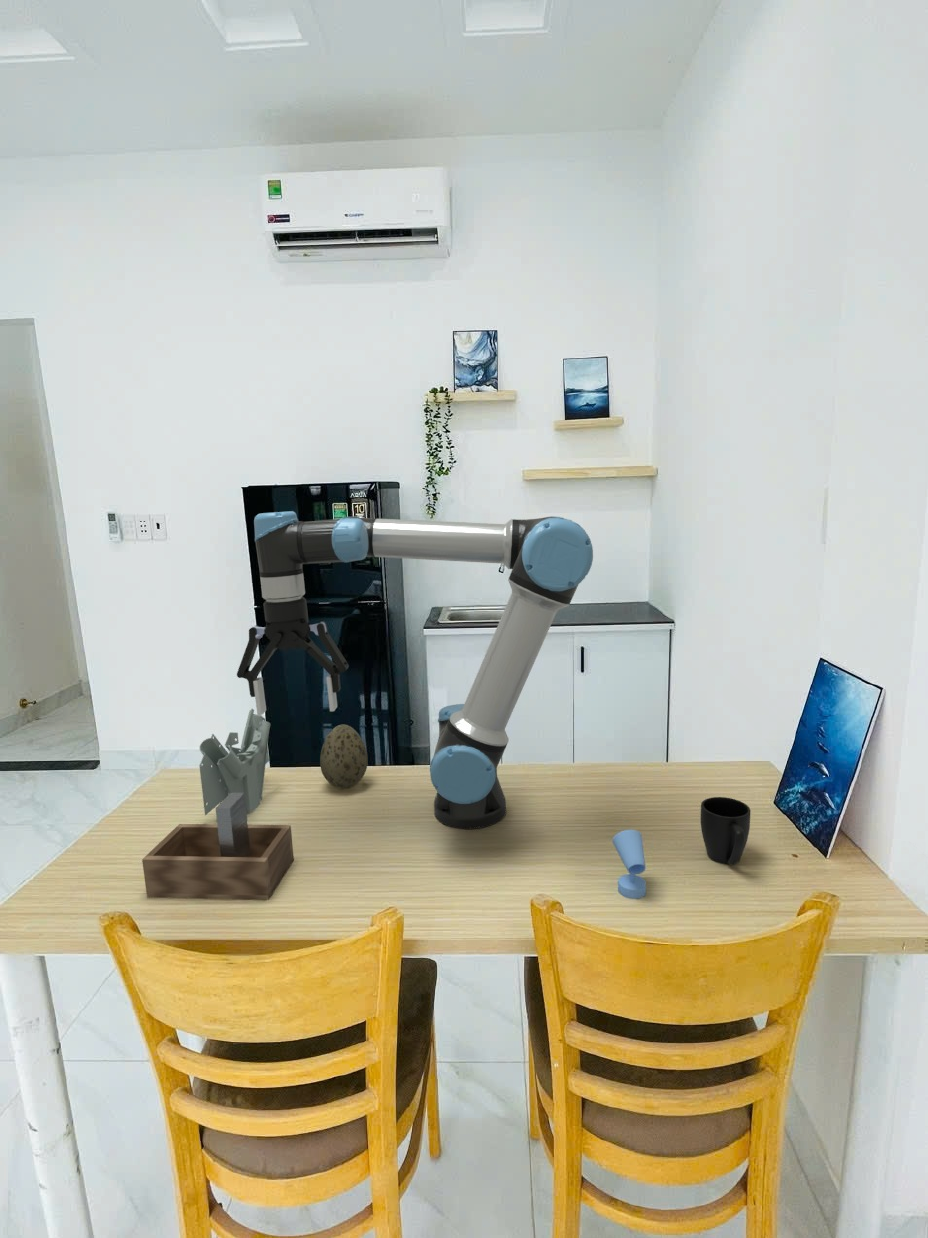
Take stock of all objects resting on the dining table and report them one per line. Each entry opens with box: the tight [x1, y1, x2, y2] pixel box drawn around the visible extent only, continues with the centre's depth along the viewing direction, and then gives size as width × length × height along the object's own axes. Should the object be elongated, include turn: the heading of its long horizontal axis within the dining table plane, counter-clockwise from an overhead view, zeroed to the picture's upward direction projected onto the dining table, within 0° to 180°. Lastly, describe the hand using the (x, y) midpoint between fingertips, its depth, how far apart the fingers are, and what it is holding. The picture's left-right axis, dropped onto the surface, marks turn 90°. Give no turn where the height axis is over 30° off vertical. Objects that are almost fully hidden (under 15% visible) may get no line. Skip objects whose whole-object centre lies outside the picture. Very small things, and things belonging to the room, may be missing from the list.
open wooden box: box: [141, 823, 295, 901], centre depth 118 cm, size 21×12×7 cm, turn 85°
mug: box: [700, 796, 752, 866], centre depth 117 cm, size 8×12×10 cm
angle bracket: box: [215, 793, 251, 857], centre depth 117 cm, size 8×6×14 cm
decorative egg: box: [319, 723, 369, 790], centre depth 153 cm, size 11×11×15 cm
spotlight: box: [612, 829, 647, 900], centre depth 110 cm, size 5×10×7 cm
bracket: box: [199, 708, 271, 816], centre depth 144 cm, size 28×7×20 cm, turn 170°
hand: (297, 711), depth 124 cm, fingers open, 13 cm apart
